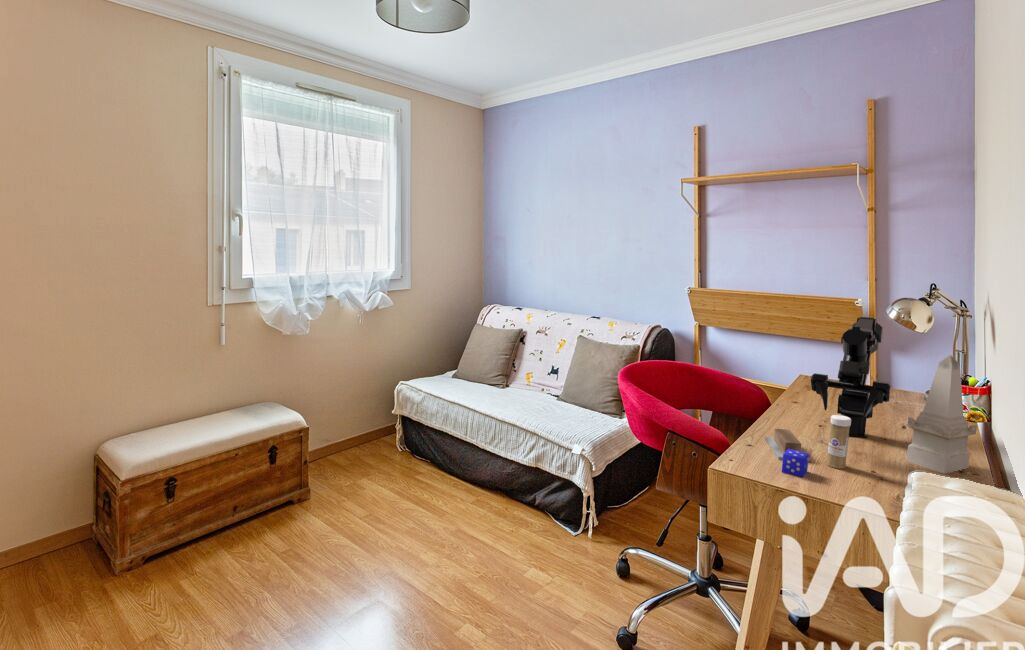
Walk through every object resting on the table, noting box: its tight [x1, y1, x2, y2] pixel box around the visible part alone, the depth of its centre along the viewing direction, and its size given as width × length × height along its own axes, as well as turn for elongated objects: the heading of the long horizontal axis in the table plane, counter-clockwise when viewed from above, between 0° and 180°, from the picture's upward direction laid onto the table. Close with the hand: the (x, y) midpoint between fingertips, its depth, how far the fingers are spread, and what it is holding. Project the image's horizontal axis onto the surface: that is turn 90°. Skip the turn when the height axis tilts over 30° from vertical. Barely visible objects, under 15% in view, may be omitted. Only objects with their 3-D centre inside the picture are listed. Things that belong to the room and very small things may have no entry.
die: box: [781, 449, 810, 478], centre depth 141 cm, size 5×5×5 cm
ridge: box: [764, 428, 812, 463], centre depth 156 cm, size 8×16×4 cm, turn 168°
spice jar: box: [826, 414, 851, 470], centre depth 144 cm, size 5×5×14 cm
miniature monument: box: [905, 354, 978, 475], centre depth 145 cm, size 10×10×30 cm
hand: (844, 412), depth 149 cm, fingers open, 9 cm apart
